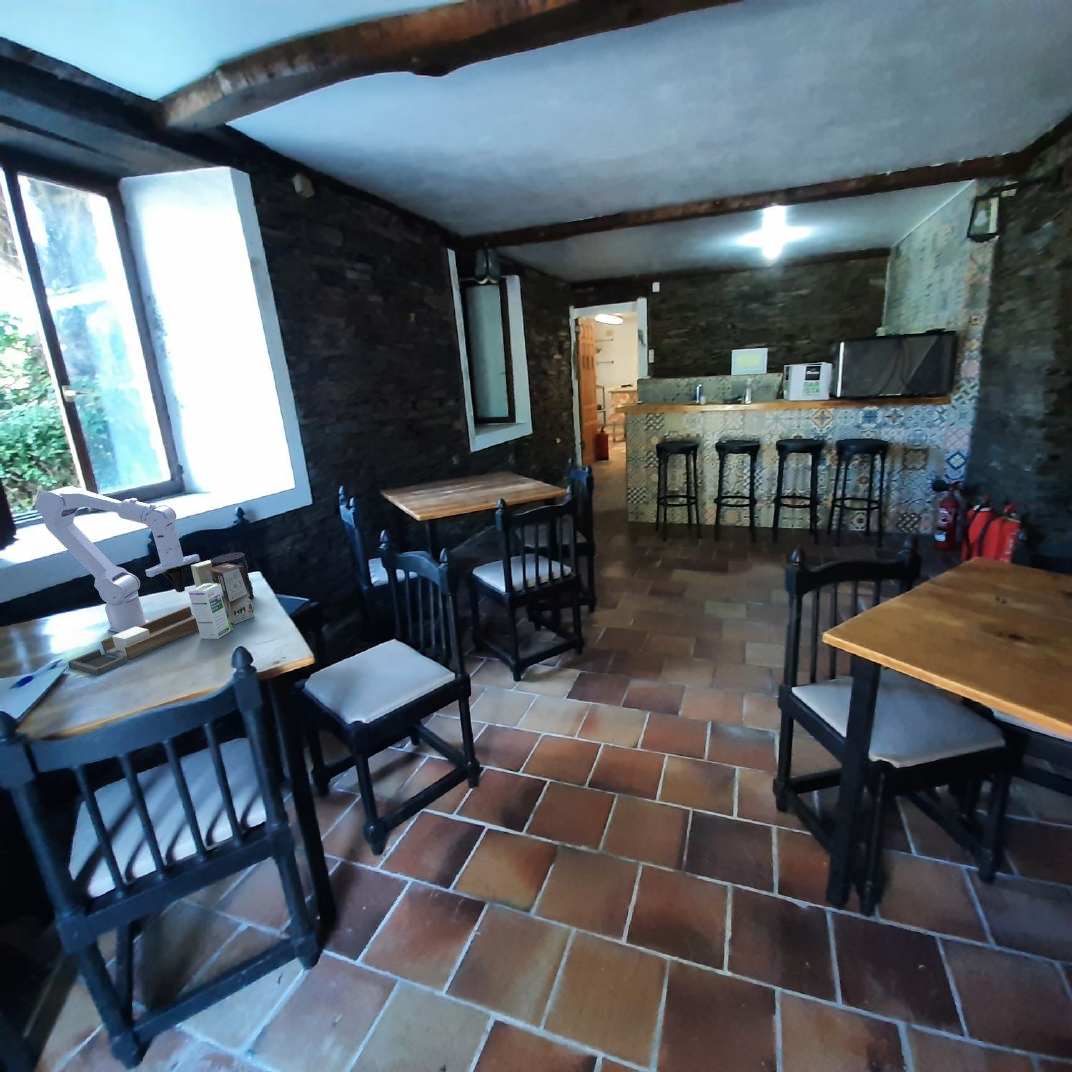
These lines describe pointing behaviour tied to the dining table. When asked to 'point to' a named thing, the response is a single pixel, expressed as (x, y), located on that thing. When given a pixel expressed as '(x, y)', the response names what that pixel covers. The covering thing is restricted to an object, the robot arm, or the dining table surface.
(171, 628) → the walled channel
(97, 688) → the dining table surface
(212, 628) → the syrup box
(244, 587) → the coffee box
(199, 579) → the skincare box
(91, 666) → the tray
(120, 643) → the cream block
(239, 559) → the storage jar
